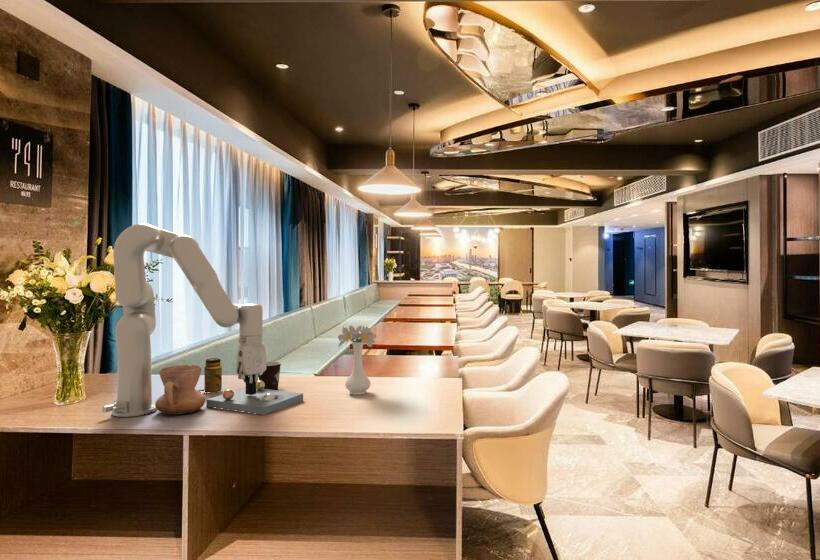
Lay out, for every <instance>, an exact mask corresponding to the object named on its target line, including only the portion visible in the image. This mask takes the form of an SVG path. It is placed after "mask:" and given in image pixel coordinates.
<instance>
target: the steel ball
mask: <svg viewBox="0 0 820 560" xmlns="http://www.w3.org/2000/svg"><path fill="white" fill-rule="evenodd" d="M263 400H275V397H274V395H273V394H270V393H269V394H266V395H264V397H263Z"/></svg>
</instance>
